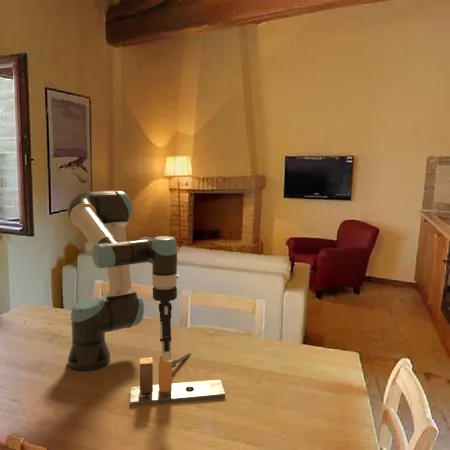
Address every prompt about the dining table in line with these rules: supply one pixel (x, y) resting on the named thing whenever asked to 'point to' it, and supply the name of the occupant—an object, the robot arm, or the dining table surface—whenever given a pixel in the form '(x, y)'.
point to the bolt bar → (179, 393)
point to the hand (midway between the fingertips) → (165, 350)
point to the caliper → (180, 359)
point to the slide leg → (165, 375)
